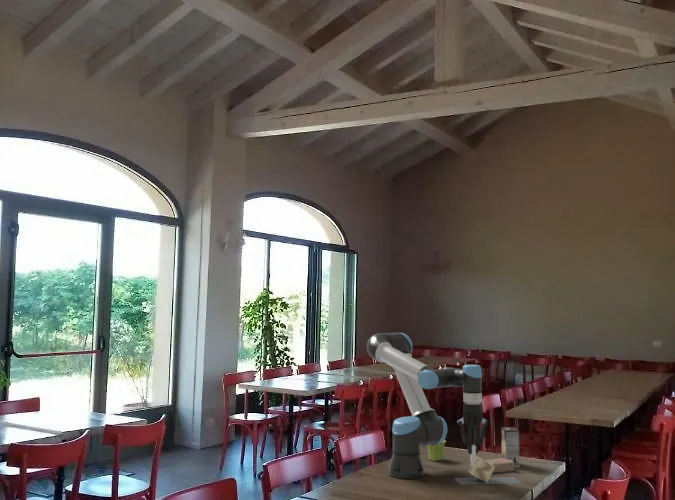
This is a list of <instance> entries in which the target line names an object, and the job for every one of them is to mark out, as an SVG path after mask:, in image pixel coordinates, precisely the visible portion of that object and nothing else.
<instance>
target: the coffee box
mask: <svg viewBox="0 0 675 500" xmlns="http://www.w3.org/2000/svg"><path fill="white" fill-rule="evenodd" d="M500 430H501V433H500V434H501V436H500V437H501V438H500V439H501V442H500V443H501V458H504V459H508V460H512V461H513V462H514V468H520V430H519V429H517V428H516V427H515V426H510V427H509V426H501V427H500Z"/></svg>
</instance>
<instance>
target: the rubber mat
mask: <svg viewBox="0 0 675 500" xmlns="http://www.w3.org/2000/svg"><path fill="white" fill-rule="evenodd" d="M453 479H454V480H455V481H456V482H457V483H459V484H460V485H461V486H462V485H463V486H464V485H501V484H502V485H504V484H505V485H506V484H507V485H508V484H523V482H521V481H520V480H519V479H518V478H516V477H515V476H493V477H492V476H490V479H489V481H488V483H487V482H485V481H483V480H481V479H479V478H477V477H454V478H453Z"/></svg>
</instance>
